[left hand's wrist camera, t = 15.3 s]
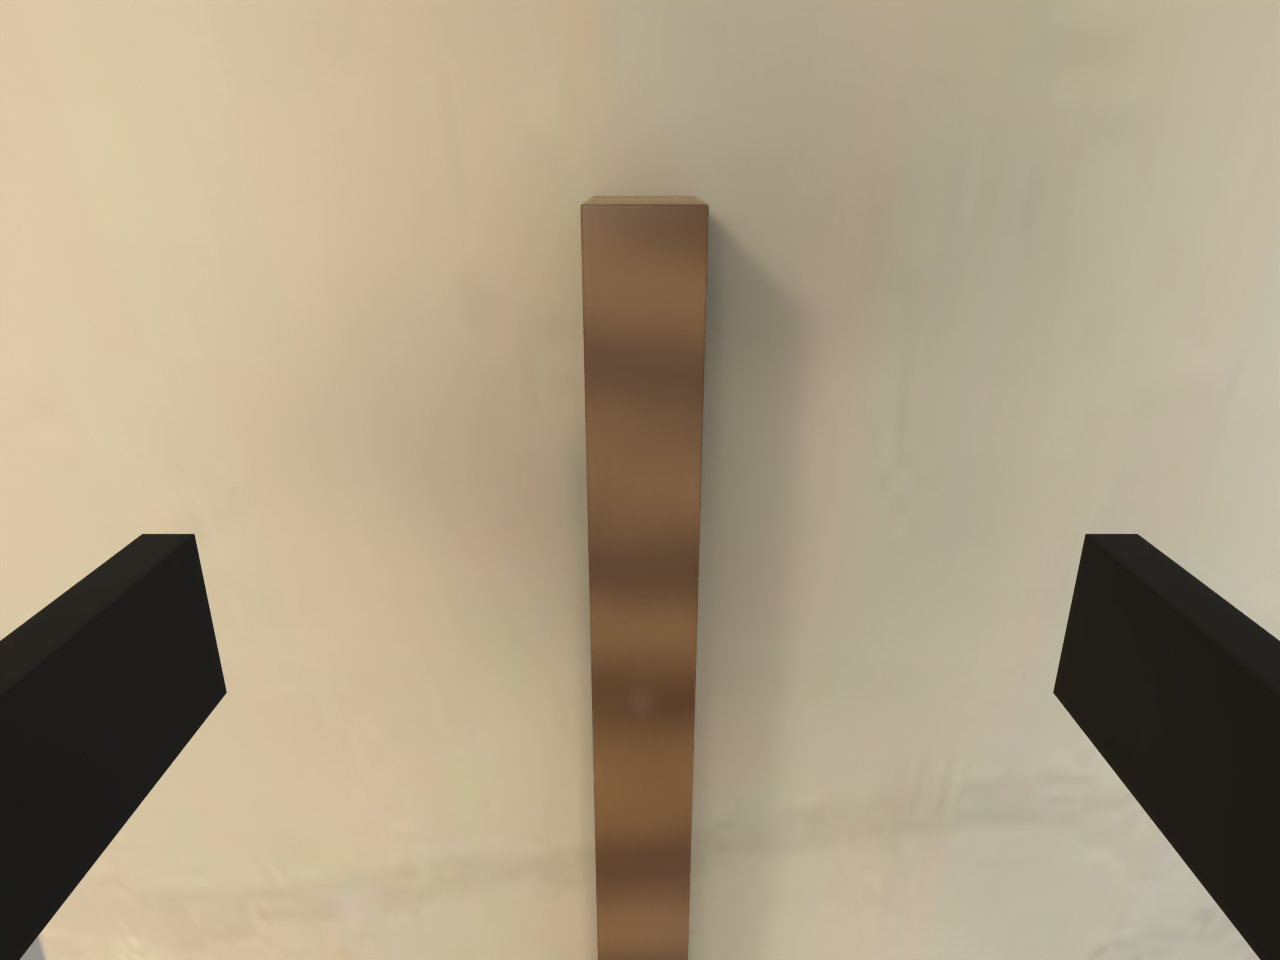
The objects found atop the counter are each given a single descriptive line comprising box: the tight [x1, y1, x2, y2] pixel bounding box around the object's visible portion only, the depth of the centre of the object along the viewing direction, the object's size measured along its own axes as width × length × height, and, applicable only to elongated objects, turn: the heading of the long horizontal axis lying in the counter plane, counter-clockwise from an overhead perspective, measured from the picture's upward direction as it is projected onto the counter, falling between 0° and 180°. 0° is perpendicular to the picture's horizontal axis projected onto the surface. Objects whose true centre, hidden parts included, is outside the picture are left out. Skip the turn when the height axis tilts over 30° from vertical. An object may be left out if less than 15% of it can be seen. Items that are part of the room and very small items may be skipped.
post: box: [581, 196, 709, 960], centre depth 44 cm, size 60×5×7 cm, turn 0°
